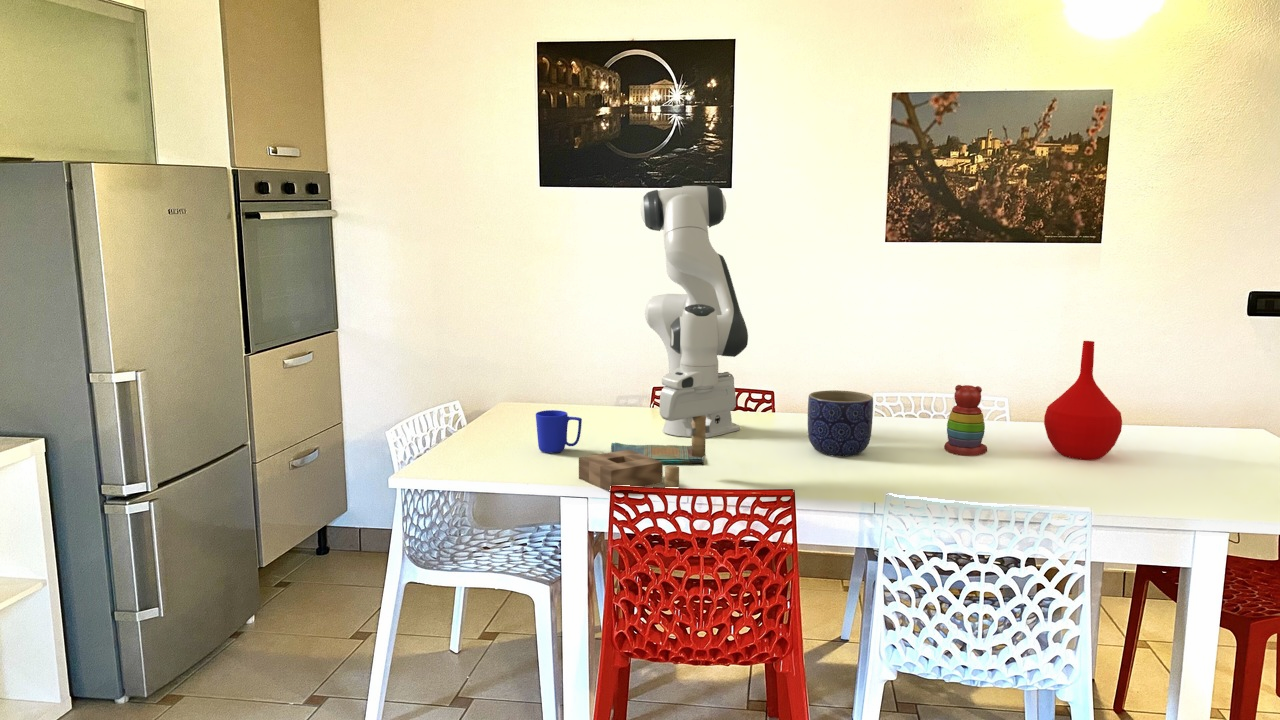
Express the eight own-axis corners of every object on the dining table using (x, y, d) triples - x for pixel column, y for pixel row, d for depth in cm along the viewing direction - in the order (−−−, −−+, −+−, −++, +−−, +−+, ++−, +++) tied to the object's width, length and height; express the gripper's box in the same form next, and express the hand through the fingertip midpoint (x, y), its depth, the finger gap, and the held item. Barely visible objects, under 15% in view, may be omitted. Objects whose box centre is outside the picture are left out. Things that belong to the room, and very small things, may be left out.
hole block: (628, 469, 235) (628, 449, 234) (662, 483, 224) (662, 461, 223) (578, 478, 227) (578, 457, 226) (611, 492, 216) (611, 470, 215)
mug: (577, 456, 247) (577, 418, 246) (531, 453, 250) (531, 415, 248) (585, 448, 255) (585, 411, 254) (541, 446, 258) (541, 409, 256)
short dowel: (673, 486, 221) (673, 464, 220) (681, 489, 219) (682, 468, 218) (661, 488, 219) (662, 466, 219) (670, 491, 217) (670, 470, 216)
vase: (1043, 460, 247) (1051, 344, 242) (1040, 444, 264) (1048, 335, 259) (1123, 467, 240) (1133, 348, 236) (1115, 450, 257) (1124, 339, 253)
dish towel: (610, 450, 256) (610, 441, 256) (699, 450, 257) (699, 441, 256) (609, 467, 239) (609, 457, 239) (704, 467, 240) (704, 457, 239)
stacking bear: (988, 449, 258) (992, 383, 255) (984, 458, 248) (988, 389, 246) (945, 445, 262) (949, 380, 259) (940, 453, 253) (944, 386, 250)
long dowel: (699, 452, 230) (699, 411, 228) (708, 455, 227) (708, 414, 226) (688, 454, 228) (689, 413, 226) (697, 458, 225) (697, 415, 224)
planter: (882, 451, 255) (885, 395, 252) (849, 463, 243) (851, 404, 240) (828, 441, 266) (830, 387, 263) (794, 451, 254) (795, 395, 252)
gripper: (724, 368, 233) (724, 425, 235) (655, 378, 221) (655, 437, 224) (742, 372, 228) (741, 430, 230) (672, 383, 216) (672, 443, 219)
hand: (698, 433), depth 227 cm, fingers closed on long dowel, 3 cm apart
